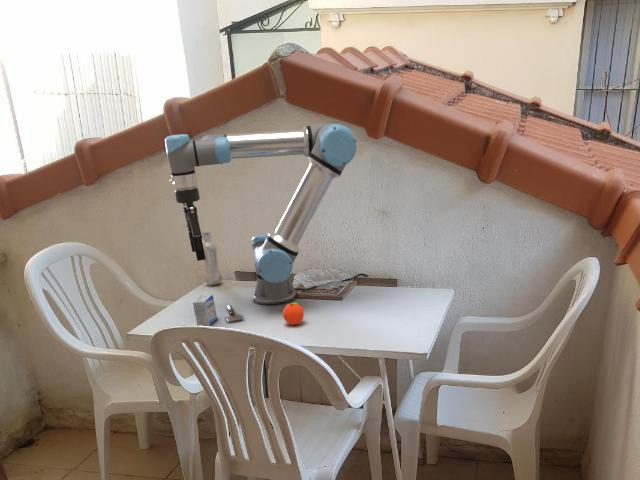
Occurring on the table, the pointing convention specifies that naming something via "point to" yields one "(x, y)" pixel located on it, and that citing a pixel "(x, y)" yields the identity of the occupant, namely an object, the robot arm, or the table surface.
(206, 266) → the plastic bottle
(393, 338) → the table surface
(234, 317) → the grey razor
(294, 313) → the clementine
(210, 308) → the medicine box
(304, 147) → the robot arm
